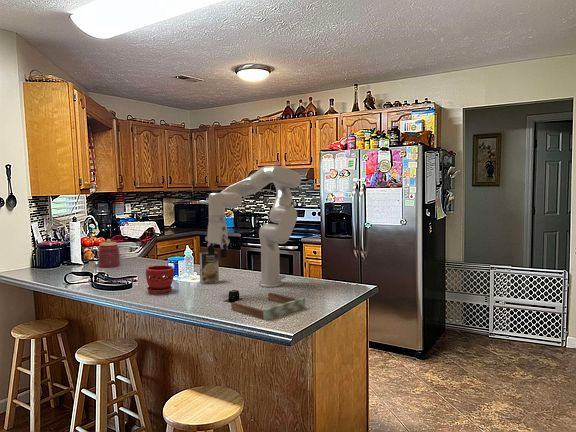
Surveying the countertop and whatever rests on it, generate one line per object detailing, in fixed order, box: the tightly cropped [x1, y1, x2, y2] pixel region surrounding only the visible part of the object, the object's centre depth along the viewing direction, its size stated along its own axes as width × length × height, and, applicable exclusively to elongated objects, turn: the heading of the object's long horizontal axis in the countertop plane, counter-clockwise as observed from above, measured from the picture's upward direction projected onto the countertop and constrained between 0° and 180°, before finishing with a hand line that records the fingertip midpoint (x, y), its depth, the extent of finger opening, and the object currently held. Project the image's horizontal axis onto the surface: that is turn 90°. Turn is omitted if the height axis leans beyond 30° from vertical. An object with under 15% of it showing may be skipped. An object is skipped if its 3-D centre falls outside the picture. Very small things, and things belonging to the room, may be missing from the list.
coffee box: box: [199, 251, 220, 285], centre depth 230 cm, size 9×6×16 cm
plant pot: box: [145, 264, 175, 294], centre depth 210 cm, size 13×13×12 cm
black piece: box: [223, 289, 246, 304], centre depth 195 cm, size 12×7×5 cm, turn 147°
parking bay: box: [230, 292, 306, 321], centre depth 180 cm, size 23×20×4 cm
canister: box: [97, 238, 121, 269], centre depth 278 cm, size 13×13×18 cm
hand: (217, 256), depth 202 cm, fingers open, 8 cm apart
